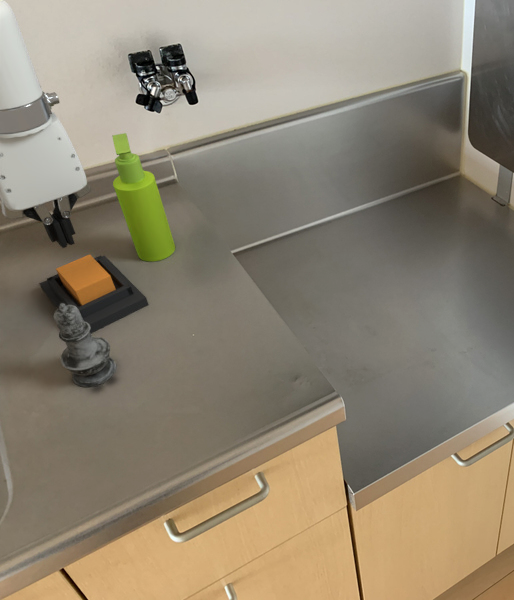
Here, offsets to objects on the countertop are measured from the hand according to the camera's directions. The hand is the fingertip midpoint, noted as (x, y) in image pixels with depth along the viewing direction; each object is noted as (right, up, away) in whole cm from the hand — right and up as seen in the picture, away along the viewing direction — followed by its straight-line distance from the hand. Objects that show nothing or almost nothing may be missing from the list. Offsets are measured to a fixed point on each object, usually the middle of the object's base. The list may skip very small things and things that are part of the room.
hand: (64, 241), depth 84 cm
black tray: (+1, -8, +7) cm, 11 cm away
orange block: (0, -7, +6) cm, 9 cm away
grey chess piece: (+6, -17, -4) cm, 19 cm away
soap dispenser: (+6, 0, +16) cm, 17 cm away
